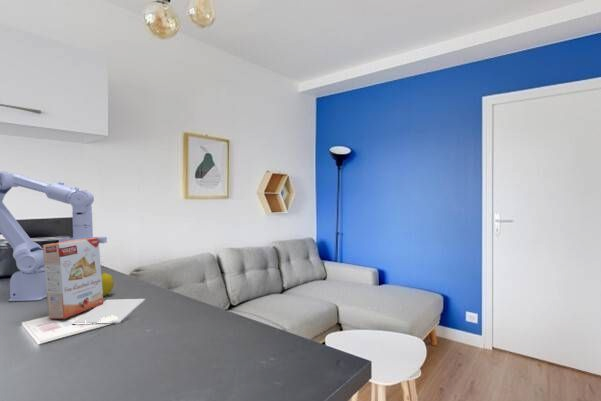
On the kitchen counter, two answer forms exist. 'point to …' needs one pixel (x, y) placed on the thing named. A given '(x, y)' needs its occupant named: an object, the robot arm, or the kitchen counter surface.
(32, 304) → the kitchen counter surface
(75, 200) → the robot arm
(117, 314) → the white flat panel
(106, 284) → the lemon
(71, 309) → the cracker box
